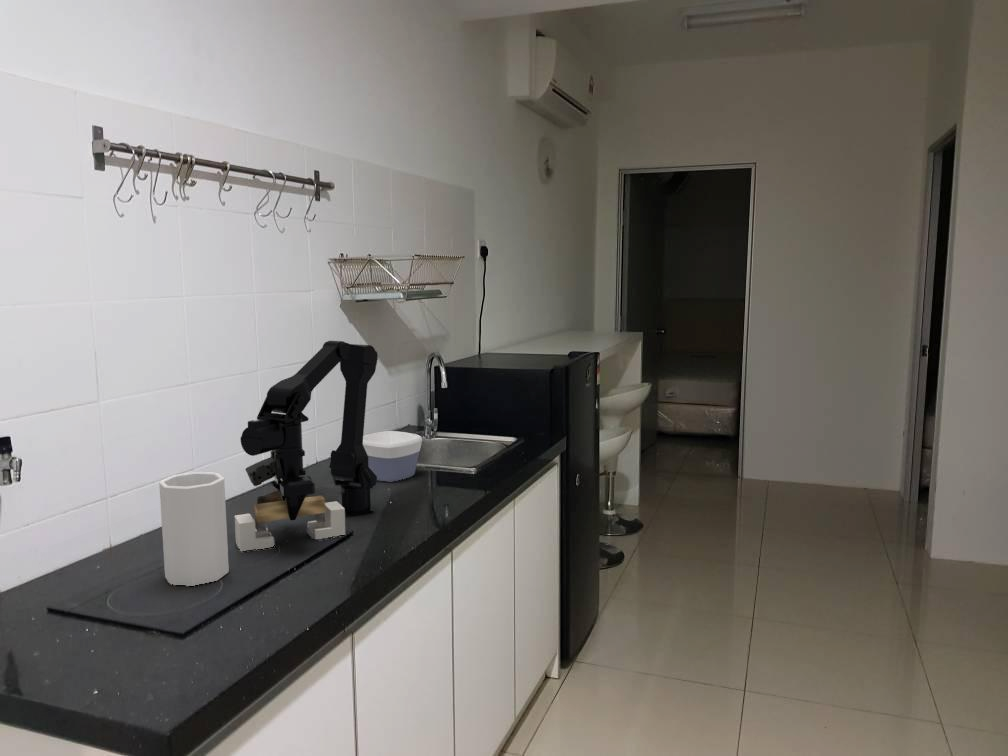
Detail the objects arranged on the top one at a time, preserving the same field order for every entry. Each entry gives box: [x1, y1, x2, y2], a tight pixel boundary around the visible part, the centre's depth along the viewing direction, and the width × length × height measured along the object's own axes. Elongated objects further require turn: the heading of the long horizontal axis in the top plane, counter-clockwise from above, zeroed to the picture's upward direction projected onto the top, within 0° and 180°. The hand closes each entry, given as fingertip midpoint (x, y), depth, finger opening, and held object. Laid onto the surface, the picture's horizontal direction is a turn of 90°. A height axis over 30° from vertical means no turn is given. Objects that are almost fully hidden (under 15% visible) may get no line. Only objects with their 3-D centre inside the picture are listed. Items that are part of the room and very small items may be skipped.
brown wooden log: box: [256, 475, 313, 504], centre depth 190 cm, size 19×4×5 cm, turn 155°
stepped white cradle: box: [234, 501, 346, 553], centre depth 163 cm, size 22×7×6 cm, turn 118°
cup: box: [159, 471, 230, 587], centre depth 142 cm, size 11×11×18 cm
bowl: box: [363, 430, 423, 483], centre depth 213 cm, size 15×15×11 cm
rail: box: [254, 495, 326, 532], centre depth 162 cm, size 14×3×5 cm, turn 118°
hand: (290, 517), depth 162 cm, fingers closed on rail, 3 cm apart
